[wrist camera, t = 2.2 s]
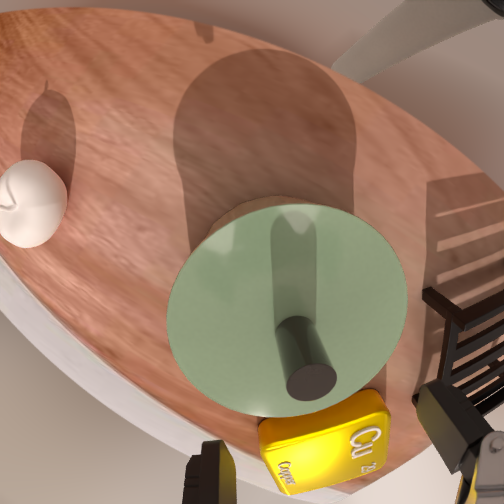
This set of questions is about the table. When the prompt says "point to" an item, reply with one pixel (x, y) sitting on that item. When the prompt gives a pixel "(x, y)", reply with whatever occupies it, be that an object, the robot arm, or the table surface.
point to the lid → (287, 309)
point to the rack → (470, 348)
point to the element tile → (326, 443)
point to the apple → (31, 203)
